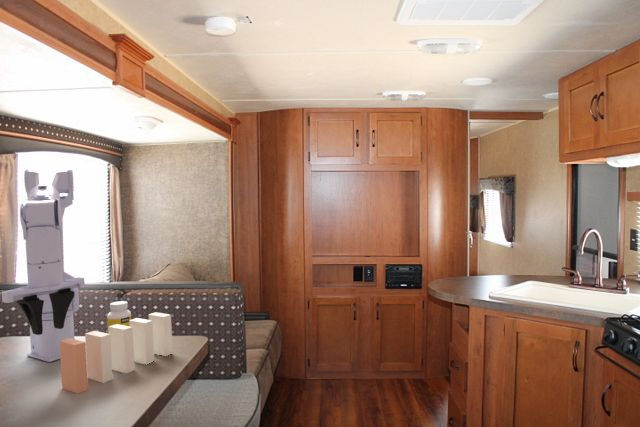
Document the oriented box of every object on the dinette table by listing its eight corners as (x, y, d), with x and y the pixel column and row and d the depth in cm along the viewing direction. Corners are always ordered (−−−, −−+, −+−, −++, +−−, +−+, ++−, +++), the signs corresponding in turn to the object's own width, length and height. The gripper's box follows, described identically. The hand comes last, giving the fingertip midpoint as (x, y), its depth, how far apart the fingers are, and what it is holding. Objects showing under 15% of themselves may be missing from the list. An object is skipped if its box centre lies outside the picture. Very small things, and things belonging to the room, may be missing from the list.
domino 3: (146, 364, 95) (144, 323, 94) (131, 361, 97) (129, 320, 97) (154, 361, 96) (152, 320, 96) (139, 357, 99) (137, 317, 99)
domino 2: (125, 373, 90) (123, 329, 90) (110, 369, 93) (108, 326, 93) (134, 370, 92) (132, 327, 92) (119, 365, 95) (116, 323, 94)
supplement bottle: (123, 346, 107) (121, 305, 106) (103, 345, 108) (101, 305, 108) (136, 339, 112) (135, 300, 112) (117, 338, 113) (115, 299, 113)
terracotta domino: (77, 393, 82) (74, 345, 81) (62, 388, 84) (59, 341, 84) (88, 389, 83) (85, 342, 83) (72, 384, 86) (70, 338, 86)
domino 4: (165, 357, 99) (163, 316, 99) (150, 353, 102) (148, 314, 101) (172, 354, 101) (170, 314, 100) (157, 350, 103) (155, 312, 103)
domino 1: (103, 383, 86) (100, 337, 86) (87, 378, 89) (85, 333, 88) (112, 379, 88) (110, 334, 87) (97, 374, 90) (94, 330, 90)
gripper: (14, 269, 79) (18, 345, 79) (92, 257, 91) (95, 323, 92) (-6, 267, 82) (-1, 339, 83) (71, 256, 95) (75, 319, 95)
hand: (48, 330), depth 88 cm, fingers open, 3 cm apart
